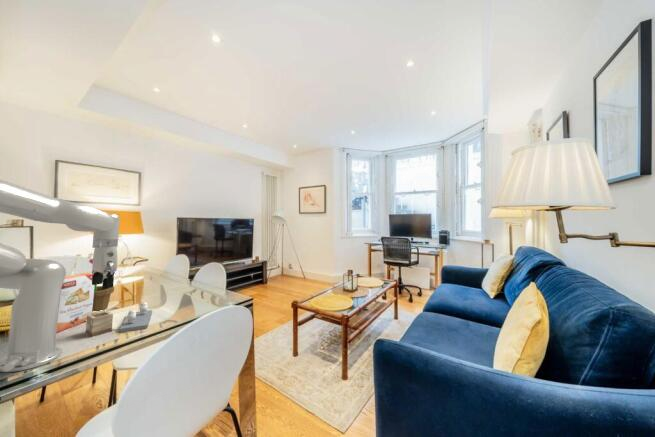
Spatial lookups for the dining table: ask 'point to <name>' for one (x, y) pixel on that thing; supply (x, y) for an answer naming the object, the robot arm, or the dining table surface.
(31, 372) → the dining table surface
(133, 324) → the pin board
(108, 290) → the flowerpot
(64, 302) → the cracker box
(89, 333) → the sleeve
